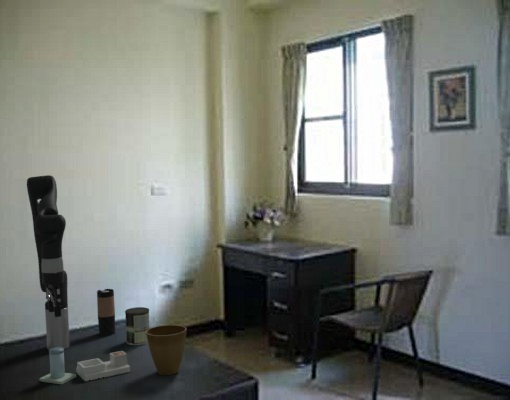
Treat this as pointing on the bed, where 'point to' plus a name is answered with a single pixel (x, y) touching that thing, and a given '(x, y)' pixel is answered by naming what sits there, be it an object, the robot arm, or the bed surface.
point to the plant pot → (167, 347)
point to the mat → (60, 380)
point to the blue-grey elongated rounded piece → (57, 362)
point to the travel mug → (106, 312)
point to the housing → (103, 367)
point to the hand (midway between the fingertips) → (54, 314)
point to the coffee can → (137, 325)
